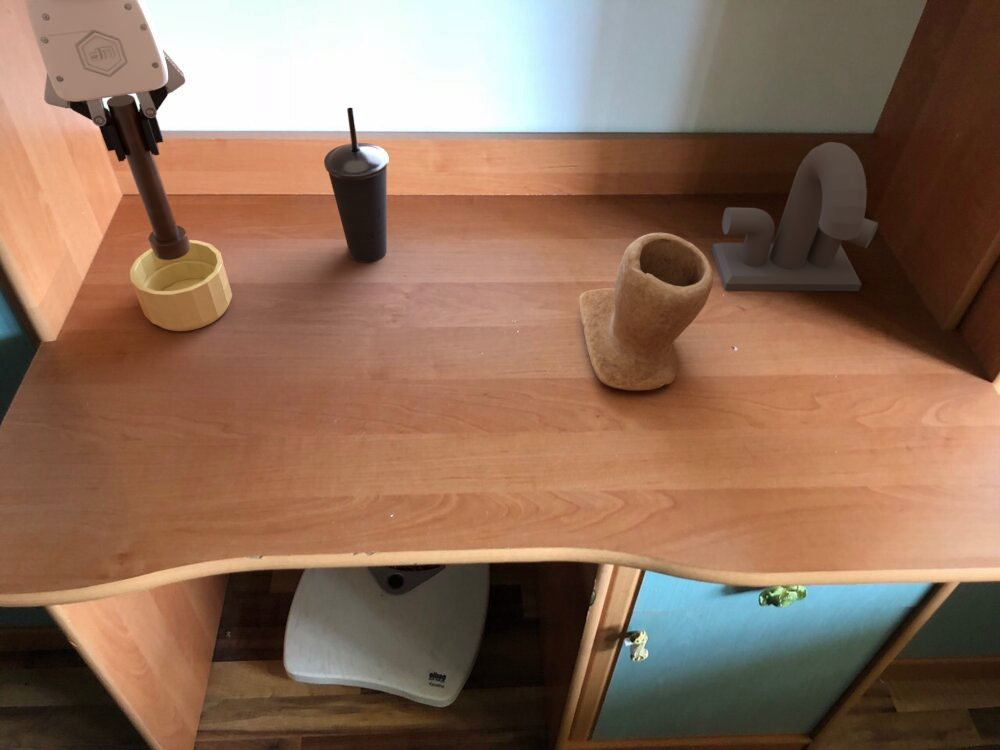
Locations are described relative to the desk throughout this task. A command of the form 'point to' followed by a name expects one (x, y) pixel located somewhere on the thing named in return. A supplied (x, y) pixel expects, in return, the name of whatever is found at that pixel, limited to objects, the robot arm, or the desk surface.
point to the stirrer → (148, 180)
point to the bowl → (182, 287)
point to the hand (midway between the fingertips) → (138, 150)
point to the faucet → (802, 230)
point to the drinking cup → (360, 194)
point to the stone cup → (645, 311)
